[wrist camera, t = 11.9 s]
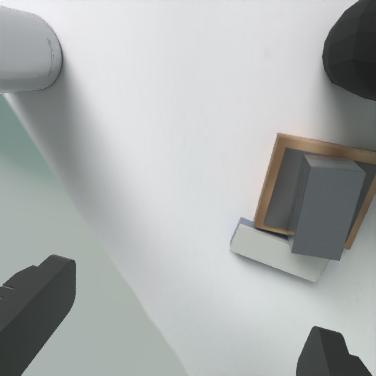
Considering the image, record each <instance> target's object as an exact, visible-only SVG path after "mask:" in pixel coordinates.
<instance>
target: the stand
mask: <svg viewBox="0 0 376 376" xmlns="http://www.w3.org/2000/svg"><path fill="white" fill-rule="evenodd" d="M303 153H304V154H314V155H323V156H332V157H342V158H351V159H352V160H353V161H354V162H355V163H356V164H357V165H358V166H359V167H360V168H361V169H362V170H364V171H365V172H366V175H365V178H364V182H363V185H362V188H361V192H360V195H359V198H358V201H357V205H356V208H355V211H354V215H353V218H352V221H351V225H350V228H349V231H348V234H347V238H346V241H345V244H344V248H345V249H350V248H351V246H352V243H353V241H354V239H355V237H356V234H357V232H358V230H359V228H360V225H361V223H362V221H363V219H364V216H365V214H366V212H367V210H368V207H369V205H370V203H371V201H372V198H373V196H374V194H375V192H376V152H374V151H369V150H364V149H359V148H354V147H349V146H343V145H338V144H333V143H328V142H323V141H318V140H313V139H307V138H302V137H297V136H292V135H287V134H282V133H278V134H277V137H276V141H275V144H274V148H273V152H272V155H271V159H270V162H269V166H268V170H267V173H266V177H265V180H264V184H263V188H262V191H261V195H260V198H259V202H258V206H257V209H256V213H255V217H254V227H256V228H261V229H265V230H269V231H273V232H278V233H282V234H286V235H288V234H287V227H288V222H289V218H290V213H291V208H292V204H293V199H294V194H295V189H296V185H297V180H298V175H299V170H300V166H301V161H302V156H303Z"/></svg>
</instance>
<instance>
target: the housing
mask: <svg viewBox="0 0 376 376" xmlns="http://www.w3.org/2000/svg"><path fill="white" fill-rule="evenodd" d="M365 175H366V172H365V171H364V170H362V169H361V168H360V167H359V166H358V165H357V164H356V163H355V162H354V161H353V160H352V159H351V158H342V157H332V156H323V155H314V154H304V153H303V156H302V161H301V166H300V170H299V175H298V180H297V185H296V189H295V194H294V199H293V204H292V208H291V213H290V218H289V222H288V227H287V234H288V239H289V244H290V249H291V253H294V254H300V255H306V256H313V257H319V258H325V259H331V260H338V261H340V258H341V254H342V251H343V248H344V244H345V241H346V238H347V234H348V231H349V228H350V225H351V221H352V218H353V215H354V211H355V208H356V205H357V201H358V198H359V195H360V192H361V188H362V185H363V182H364V178H365Z"/></svg>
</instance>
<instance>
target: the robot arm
mask: <svg viewBox="0 0 376 376" xmlns="http://www.w3.org/2000/svg"><path fill="white" fill-rule="evenodd" d="M61 63H62V56H61V49H60V45H59V42H58V39H57V37H56V35H55V33H54V32H53V30H52V29H51V27H50V26H49V25H48V24H47V23H46V22H45V21H44V20H43V19H41V18H40V17H38V16H37V15H34V14H32V13H29V12H25V11H20V10H16V9H12V8H8V7H5V6H1V5H0V94H3V93H13V92H24V91H34V90H41V89H45V88H47V87H49V86H50V85H52V84H53V82H54V81H55V80H56V79H57V77H58V75H59V73H60V69H61ZM75 295H76V263H75V261H74V260H72V259H68V258H65V257H61V256H57V255H51V256H49V257H48V258H47V259H46V260H45V261H43V262H42V263H41V264H40V265H39V266H38V267H37V266H33V265H32V266H30V267H28V268H26V269H24V270H22V271H20V272H18V273H16V274H15V275H14V276H12V277H11V278H10V279H9V280H8V281H6V282H5V283H4V284H3V286H2V287H0V376H21V375H22V373H23V372H24V371H25V369H26V368H27V367H28V365H29V364H30V363H31V361H32V360H33V359H34V357H35V356H36V355H37V353H38V352H39V351H40V350H41V348H42V347H43V346H44V344H45V343H46V342H47V340H48V339H49V338H50V336H51V335H52V334H53V332H54V331H55V330H56V329H57V327H58V326H59V325H60V323H61V322H62V321H63V319H64V318H65V317H66V315H67V314H68V313H69V311H70V309H71V308H72V305H73V303H74V300H75ZM296 376H372V375H371V373H370V372H369V371H368V369H367V368H366V367H365V365H364V364H363V362H362V361H361V360H360V358H359V357H357V356H354V355H350V354H349V352H348V349H347V346H346V343H345V340H344V337H343V335H342V334H341V333H339V332H335V331H332V330H328V329H324V328H321V327H317V326H314V327H313V328H312V329H311V332H310V334H309V336H308V338H307V341H306V343H305V345H304V347H303V350H302V352H301V354H300V357H299V359H298V363H297V369H296Z"/></svg>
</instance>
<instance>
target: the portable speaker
mask: <svg viewBox="0 0 376 376" xmlns="http://www.w3.org/2000/svg"><path fill="white" fill-rule="evenodd" d="M322 58H323V64H324V69H325V71H326V73H327V74H328V76H329V78H330V79H331V81H332V82H333V83H335V84H337V85H339V86H341V87H342V88H344V89H346V90H348V91H350V92H352V93H354V94H356V95H359V96H361V97H363V98H365V99H370V100H374V101H376V0H359V1H358V2H356V3H355V4H354V5H352V6H351V7H350V8H348V9H347V10H346V11H345V12H344V13H343V14H342V16H341V17H340V18H339V20H338V21H337V22H336V23H335V25H334V26H333V27H332V29H331V30H330V32H329V34H328V36H327V38H326V40H325V43H324V50H323V56H322Z"/></svg>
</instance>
